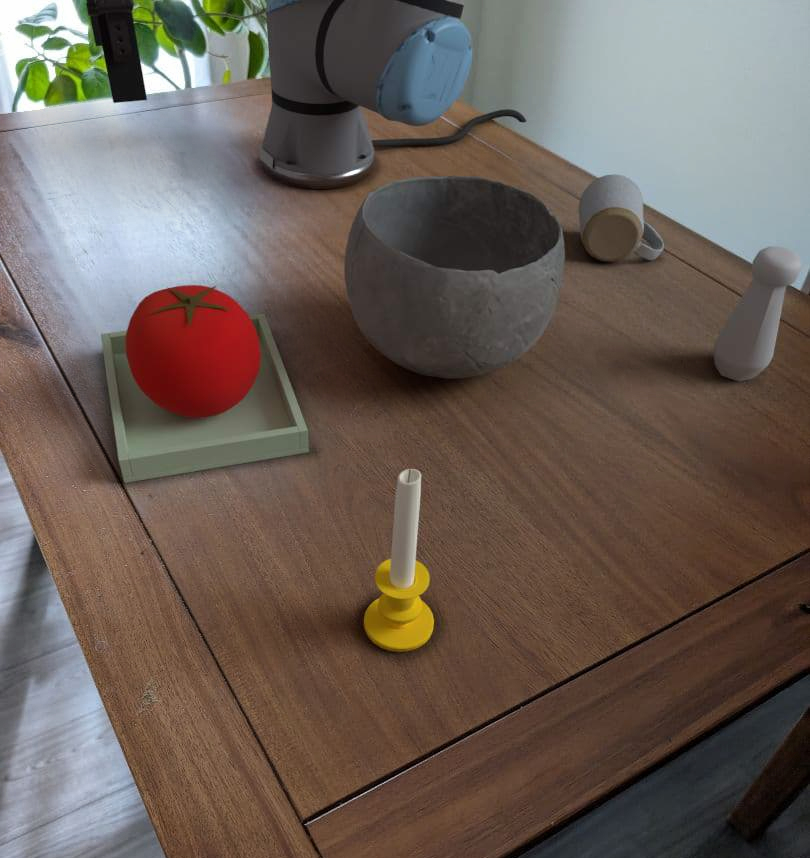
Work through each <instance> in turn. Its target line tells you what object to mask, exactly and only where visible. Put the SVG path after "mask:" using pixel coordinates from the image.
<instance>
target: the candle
mask: <svg viewBox="0 0 810 858" xmlns="http://www.w3.org/2000/svg"><path fill="white" fill-rule="evenodd" d="M396 481H397V482H396V490H395V496H394V510H393V525H392V539H391V554H390V558H388V559H386V560H384V561H382V562H381V563H380V564H379V565H378V567H377V568H376V570H375V572H374V582H375V585H376V587H377V588H378V590H379V591H380V592H381V595H380V596H379V597H377V598H376V599H375V600H373V601H372V602H371V603H370V604H369V605H368V607H367V608H366V609H365V612H364V617H363V627H364V631H365V634H366V636H367V637H368V639H369V640H370V641H371V642H372V643H373V644H375V645H376V646H378V647H379V648H381V649H383V650H386V651H389V652H393V653H405V652H410V651H413V650H417V649H419V648H421V647H422V646H424V645H425V644H426V643H427V642H428V641H429V640H430V639H431V637H432V634H433V632H434V624H435V619H434V614H433V612H432V610H431V608H430V606H428V605H427V604H426V602H424V601H423V600H422V599H421V597H420V596H421V595H423V594H424V593H425V592H426V591H427V589H428V587H429V586H430V580H431V577H430V572H429V570H428V568H427V567H426V566H425V565H424V564H423V563H422V562H420V561H418V560H417V545H418V532H419V521H420V508H421V507H420V506H421V494H422V473H421V472H420V471H419V470H418V469H416V468H407V469H404V470H402V471H401V472H399V475H398V476H397V480H396Z"/></svg>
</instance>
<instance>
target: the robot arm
mask: <svg viewBox="0 0 810 858" xmlns="http://www.w3.org/2000/svg"><path fill="white" fill-rule="evenodd" d="M465 3H466V1H465V0H266V7H265V8H264V12H265V17H266V19H265V20H266V33H267V35H266V36H267V46H268V61H269V75H270V88H271V107H270V111H269V115H268V119H267V124H266V128H265V131H264V136H263V140H262V144H261V146H260V147H259V160H261V166H262V169H263V170H264V172H265V173H266V174H267V175H268V176H269V177H271V178H273V179H274V180H276V181H278V182H281V183H283V184H286V185H290V186H292V187H293V186H294V187H297V188H303V189H312V190H313V189H316V190H326V189H327V190H328V189H338V188H344V187H349V186H352V185H356V184H358V183H360V182H362V181H364V180H366V179H367V178H368V177H370V176H371V174H372V173H373V172H374V170H375V159H376V158H375V157H376V156H375V155H376V153H375V151H376V150H375V148H393V147H396V148H397V147H427V146H428V147H429V146H443V145H448V144H452V143H456V142H458V141H460V140H462V139H463V138H465V137H466V136H467V135H468V134H469V132H470V131H471V129H472V128H473V127H474V126H476V125H479V124H482V123H484V122H488V121H491V120H494V119H499V118H503V117H511V118H514V119H516V120H517V121H518V122H519V123H526V122H527V119H526V118H525V116H524V115H523V114H522V113H521V112H519V111H518V110H515V109H508V108H507V109H498V110H494V111H492V112H489V113H485V114H482V115H479V116H476V117H473V118H472V119H470V120H468V121H467V122H466V123H465V125H464V126H463V128H462V129H461V130H460V131H459V132H457V133H455V134H451V135H447V136H441V137H427V138H424V137H423V138H422V137H421V138H420V137H419V138H391V139H389V138H388V139H372V137H371V134H370V130H369V126H368V123H367V120H366V117H365V112H364V110H363V108H364V109H367V110H368V111H371V112H374V113H375V114H379V116H381V117H383V118H384V119H385V120H387V121H389V122H391V121H392V122H397V123H400V124H401V123H402V124H404V125H407V126H411V127H424V126H427V125H430V124H431V123H434V122H436V121H437V120H438V119H440V118H441V117H443V115H444V114H445V112H446V111H449V110H450V109H451V108H452V106H453V105H454V104H455V103H456V101H457V100H458V98H459V96H460V95H461V93H462V91H463V89H464V87H465V85H466V82H467V80H468V78H469V73H470V71H471V66H472V61H473V47H472V46H471V44H472V37H471V34H470V31H469V30H468V28H467V27H466V26H465V24H464V23H463V22H462V21H461V19H462V15H463V11H464V7H465ZM134 5H135V4H134V0H86V3H85V6H86V11H87V16H88V17H89V19H90V25H91V29H92V35H93V39H94V43H95V46H96V47H101V48H102V53H103V58H104V64H105V68H106V74H107V78H108V83H109V88H110V94H111V98H112V102H113V104H117V103H129V102H141V101H148V97H147V92H146V85H145V80H144V74H143V68H142V62H141V57H140V51H139V45H138V38H137V33H136V27H135V22H134V16H133V12H134V11H133V10H134Z"/></svg>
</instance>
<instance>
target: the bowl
mask: <svg viewBox="0 0 810 858" xmlns="http://www.w3.org/2000/svg"><path fill="white" fill-rule="evenodd" d="M565 260H566V247H565V239H564V233H563V229H562V226H561V225H560V222H559V220H558V218H557V217H556V215H555V214H553V212H552V210H551V209H549V207H548V206H547V204H545V203H544V202H543V201H542V200H540V199H539V198H537V197H536V196H535V195H533V194H532V193H531V192H528V191H526V190H524V189H522V188H519V187H516V186H514V185H511V184H508V183H506V182H502V181H500V180H495V179H492V178H486V177H481V176H470V175H469V176H468V175H467V176H464V175H463V176H462V175H446V176H445V175H444V176H440V175H439V176H417V177H416V176H415V177H408V178H407V177H406V178H403V179H399V180H394V181H390V182H388V183H386V184H384V185H382V186H379V187H377V188H376V189H374V190H372V191H370V193H368V195H367V196H366V197H365V198H364V200H363V202H362V203H361V205H360V207H359V208H358V210H357V211H356V215H355V216H354V219H353V222H352V224H351V227H350V230H349V233H348V237H347V243H346V247H345V254H344V283H345V289H346V290H345V291H346V296H347V299H348V302H349V306H350V309H351V312H352V315H353V318H354V321H355V322H356V324H357V326H358V329H359V331H360V332H361V334H362V335H363V336H364V338H365V339H366V341H368V342H369V343H370V344H371V346H373V347H374V349H376V350H377V351H378V352H379V353H380V354H382V355H383V356H384V357H385V358H387V359H389V360H390V361H391V362H393V363H394V364H396V365H398V366H400V367H402V368H404V369H406V370H408V371H411V372H413V373H415V374H418V375H421V376H426V377H434V378H441V379H446V380H448V379H452V380H453V379H454V380H455V379H467V378H474V377H480V376H484V375H486V374H490V373H493V372H496V371H498V370H500V369H502V368H505V367H507V366H509V365H511V364H512V363H514V362H515V361H517V360H519V359H521V358H522V357H523V356H524V355H525V354H526V353H527V352H529V350H531V349H532V347H534V346H535V344H536V343H537V342H538V341H539V339H540V338H541V336H542V335H543V334H544V332H545V330H546V328H547V327H548V324H549V322H550V321H551V319H552V317H553V315H554V312H555V310H556V309H555V308H556V306H557V303H558V299H559V295H560V292H561V291H562V290H561V289H562V285H563V278H564V273H565Z"/></svg>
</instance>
